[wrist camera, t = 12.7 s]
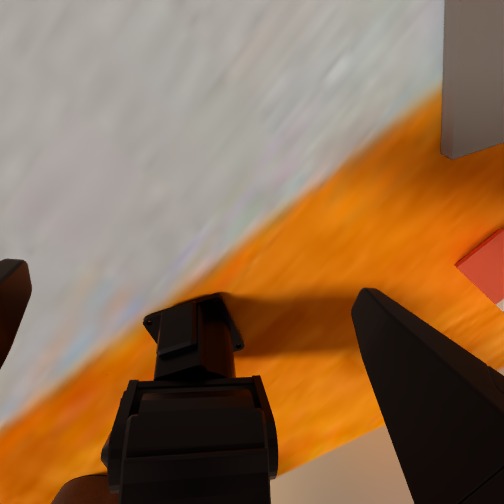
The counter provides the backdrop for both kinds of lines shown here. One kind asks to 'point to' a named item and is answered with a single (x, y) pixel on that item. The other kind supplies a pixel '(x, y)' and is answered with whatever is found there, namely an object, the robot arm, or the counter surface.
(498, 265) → the french fries container
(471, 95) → the charcoal mat
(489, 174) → the counter surface
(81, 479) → the plant pot
